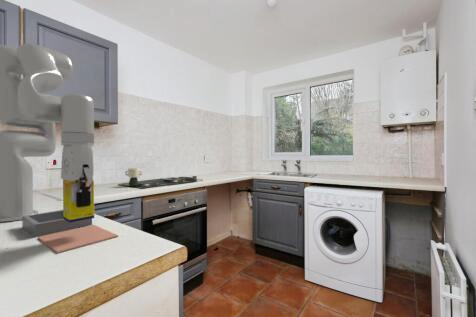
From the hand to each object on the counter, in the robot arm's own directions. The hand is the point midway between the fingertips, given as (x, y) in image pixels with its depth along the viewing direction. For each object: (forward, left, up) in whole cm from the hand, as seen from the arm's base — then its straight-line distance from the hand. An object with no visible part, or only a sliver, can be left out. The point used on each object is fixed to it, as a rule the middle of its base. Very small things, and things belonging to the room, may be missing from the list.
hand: (78, 204), depth 64 cm
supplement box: (0, 0, -4) cm, 4 cm away
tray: (-17, 0, -9) cm, 19 cm away
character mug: (-86, +64, -10) cm, 108 cm away
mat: (0, 0, -9) cm, 9 cm away
